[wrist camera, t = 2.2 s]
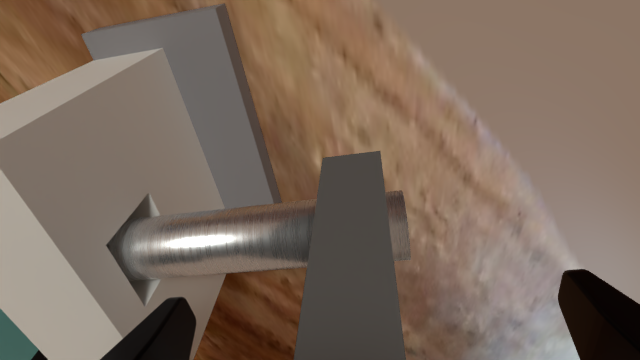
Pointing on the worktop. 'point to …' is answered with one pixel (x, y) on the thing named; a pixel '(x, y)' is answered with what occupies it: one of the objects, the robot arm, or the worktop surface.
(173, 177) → the bracket
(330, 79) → the worktop surface
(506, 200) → the worktop surface
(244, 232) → the shaft
